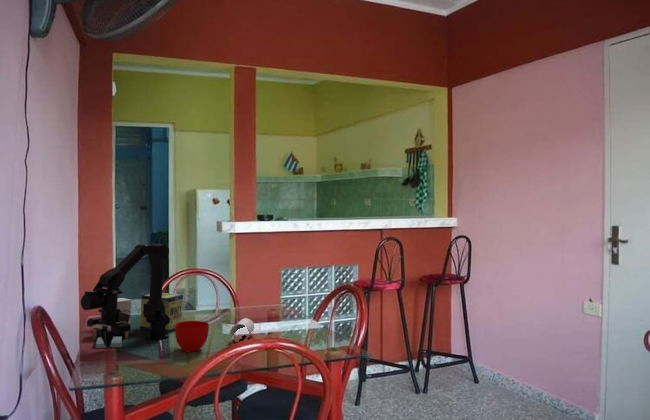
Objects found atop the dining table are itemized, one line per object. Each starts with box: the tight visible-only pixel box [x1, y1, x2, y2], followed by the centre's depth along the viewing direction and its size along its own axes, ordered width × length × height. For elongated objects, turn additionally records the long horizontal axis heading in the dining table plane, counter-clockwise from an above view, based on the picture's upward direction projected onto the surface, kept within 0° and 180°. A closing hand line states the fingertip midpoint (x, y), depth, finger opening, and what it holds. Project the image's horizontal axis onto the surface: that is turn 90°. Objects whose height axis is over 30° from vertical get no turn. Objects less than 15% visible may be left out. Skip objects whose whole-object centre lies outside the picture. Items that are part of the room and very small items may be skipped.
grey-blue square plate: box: [95, 335, 123, 349], centre depth 208 cm, size 10×9×2 cm
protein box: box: [139, 292, 184, 334], centre depth 236 cm, size 10×16×16 cm
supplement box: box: [117, 297, 132, 325], centre depth 236 cm, size 7×7×13 cm
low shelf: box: [92, 322, 130, 341], centre depth 219 cm, size 8×13×5 cm, turn 109°
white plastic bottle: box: [229, 317, 255, 338], centre depth 227 cm, size 8×19×8 cm, turn 176°
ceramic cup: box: [174, 320, 210, 353], centre depth 206 cm, size 13×17×10 cm
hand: (107, 347), depth 199 cm, fingers closed
